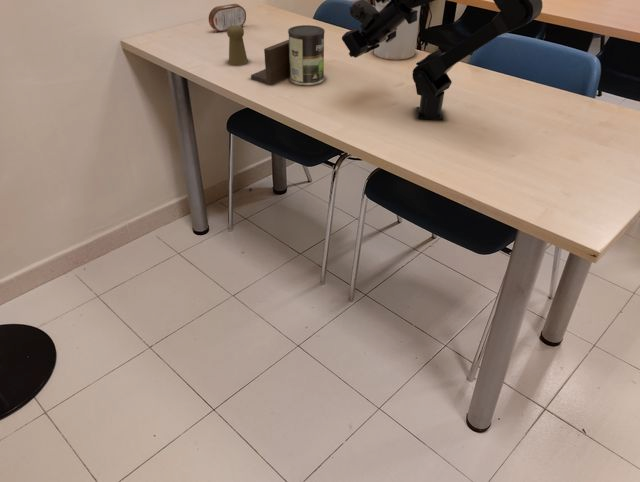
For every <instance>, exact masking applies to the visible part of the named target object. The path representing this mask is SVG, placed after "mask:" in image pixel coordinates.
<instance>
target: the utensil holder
mask: <svg viewBox="0 0 640 482" xmlns="http://www.w3.org/2000/svg"><path fill="white" fill-rule="evenodd" d="M390 1H391V0H389V1H388V2H386V3H384V4H382V2H379V3H377V2H376V1H375V0H374V2H375V8H376V10H377V11H378V12H379V11H381V10H382V9H383V8H384V7H385V6H386V5H387V4H388V3H389V2H390ZM421 6H422V5H421ZM421 6H418V7H415V8H413V9H414V10H417V11H418V12H417V21H416V22H413V23H411V24H408V22H407V21H406V20H405V21H403V22H402V23H401V24H400V25H399V26H398V27H397V30H396V37H395V38H394V39H393V40H392V41H390V42H388V43H386V40H387V39H388V37H386V40H385V41H383V42H381V43H379V45H380V46H379V47H378V48H376V49H373V54H374V55H375V56H377V57H378V58H381V59H385V60H395V61H396V60H397V61H399V60H406V59H407V60H408V59H410V58H412V57H414V55H416V54H415V53H416V47H417V40H418V34H419V26H420V25H419V24H420V17H421V16H420V15H421Z"/></svg>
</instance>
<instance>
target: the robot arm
mask: <svg viewBox="0 0 640 482" xmlns="http://www.w3.org/2000/svg"><path fill="white" fill-rule="evenodd" d="M375 1H376V2H377V3H379V2H382V4H384V3H386V2H388V1H389V0H374V2H375ZM434 1H436V0H391V1H390V2H389V3H388V4H387V5H386V6H385V7H384V8H383V9H382V10H381V11H379V12H378V11H377V10H376V7H375V6H373V5H372V4H371V3H370V2H368V1H367V0H357V1H355V2H354V3H353V4H352V6H350V7H349V15H350V16H351V18H353V19H354V20H355V21H358V22H360V23H361V24H360V28H361V31H360V30H359V29H355V28H353V29H351V30H349V31H346V32H345V33H344V34H343V35H342V36H341V41H342V42H343V43H344V45H345V46H346V49H348V51H349V52H348V56H349V57H350V58H355V59H356V58H358V57H361V56H363V55H364V54H367V53H370V52H372V51H374V49H376V48H378V47H379V46H380V45H379V43H381V42H383V41H385V40H386V37H388V39H387V40H386V43H388V42H390V41H392V40H393V39H394V38H395V37H396V30H397V27H398V26H399V25H400V24H401V23H402V22H403V21H405V20H406V21H407V22H408V24H411V23H413V22H416V21H417V12H418V11H417V10H414V9H413V8H415V7H418V6H423V5H426V4H429V3H432V2H434ZM492 1H493V3H494V4H495V6H496V7H497V9H498V10H499V12H497V14H496V15H495V16H494V17H493V18H492V20H490V21H489V22H487V24H485V25H483V26H482V27H480V28H479V29H477V30H476V31H475V32H473V33H472V34H470V35H469V36H467V37H466V38H465V39H463V40H461V41H460V42H458V43H457V44H456V45H454V46H452V47H451V48H450V49H448V50H446V51H445V52H442V51H441V48H438V49H436V50H435V51H432V52H431V53H429V54H428V55H427V56H425V57H424V58H423V59H421V60H419V61H417V62H416V63H415V65H416V66H414V68H413V70H412V80H413V82H414V86H415V90H416V95H418V96H420V100H419V106H417V107H416V115H417V119H418V120H434V121H435V120H436V121H437V120H438V121H443V120H444V118H445V117H444V114H443V104H444V97H445V91H447V90H449V89H450V87H451V85H452V84H453V81H452V79H451V78H450V77H449V75H448V73H449V71H450V70H451V69H452V68H453V67H454V66H455V65H456V64H457V63H459V62H461V61H462V60H464V59H465V58H467V57H468V56H471V54H474V52H476V51H478V50H479V49H481V48H483V47H484V46H486V45H487V44H489V43H491V42H492V41H493V40H495V39H497V38H498V37H500V36H502V35H505V34H507V33H510V32H513V31H515V30H517V29H520V28H522V27H524V26H526V25H528V24H530V23H531V22H532V21H534V20H535V19H537V18H538V17H539V16H540V15H541V13H542V10H543V0H492Z"/></svg>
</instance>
